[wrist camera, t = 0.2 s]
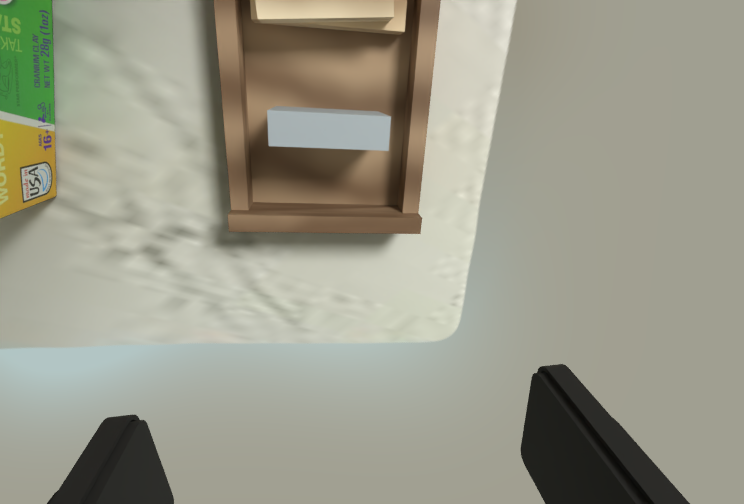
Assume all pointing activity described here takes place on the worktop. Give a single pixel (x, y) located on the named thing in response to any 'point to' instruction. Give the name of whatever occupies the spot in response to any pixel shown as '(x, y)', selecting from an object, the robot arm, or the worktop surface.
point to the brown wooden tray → (329, 91)
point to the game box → (26, 105)
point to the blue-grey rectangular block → (328, 128)
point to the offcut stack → (333, 14)
